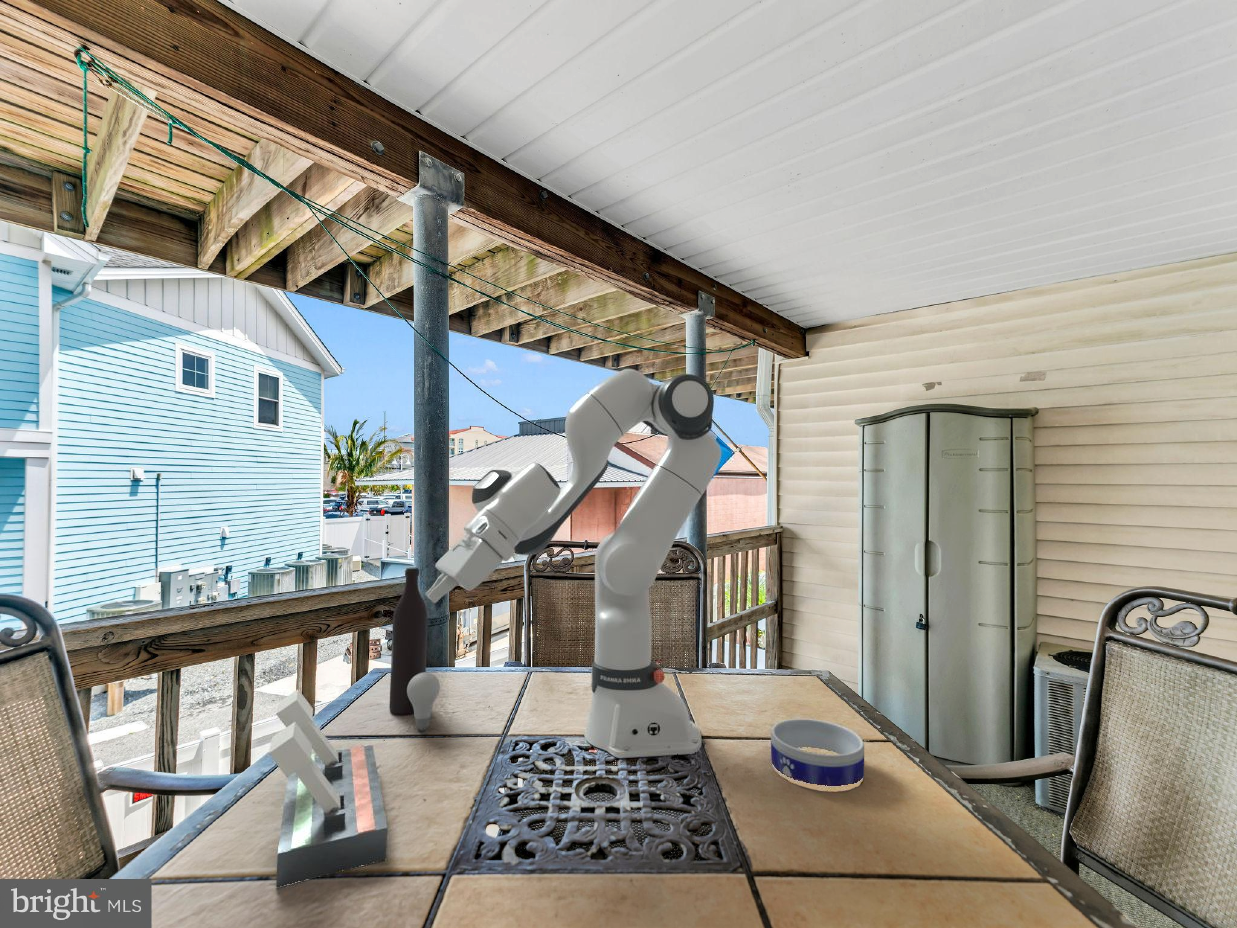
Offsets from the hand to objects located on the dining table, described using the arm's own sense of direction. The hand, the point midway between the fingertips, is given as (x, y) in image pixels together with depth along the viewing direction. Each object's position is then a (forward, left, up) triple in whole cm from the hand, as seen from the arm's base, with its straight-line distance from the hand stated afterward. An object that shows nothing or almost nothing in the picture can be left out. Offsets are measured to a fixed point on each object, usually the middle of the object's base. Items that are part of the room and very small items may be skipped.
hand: (429, 599), depth 94 cm
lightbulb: (+7, -18, -29) cm, 35 cm away
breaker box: (+9, +12, -29) cm, 32 cm away
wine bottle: (+14, -28, -29) cm, 43 cm away
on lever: (+5, +18, -24) cm, 31 cm away
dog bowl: (-66, -7, -29) cm, 73 cm away
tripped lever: (+12, +6, -24) cm, 27 cm away
